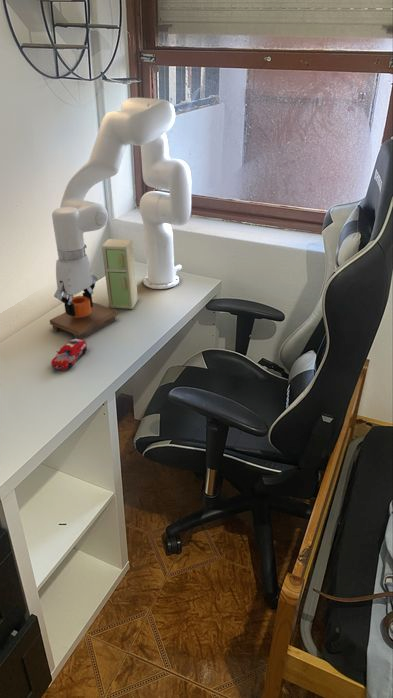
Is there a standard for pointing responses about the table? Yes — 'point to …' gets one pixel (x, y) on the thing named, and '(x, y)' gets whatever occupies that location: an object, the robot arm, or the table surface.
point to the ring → (81, 306)
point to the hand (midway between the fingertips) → (79, 310)
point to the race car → (69, 354)
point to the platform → (85, 321)
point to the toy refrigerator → (120, 273)
